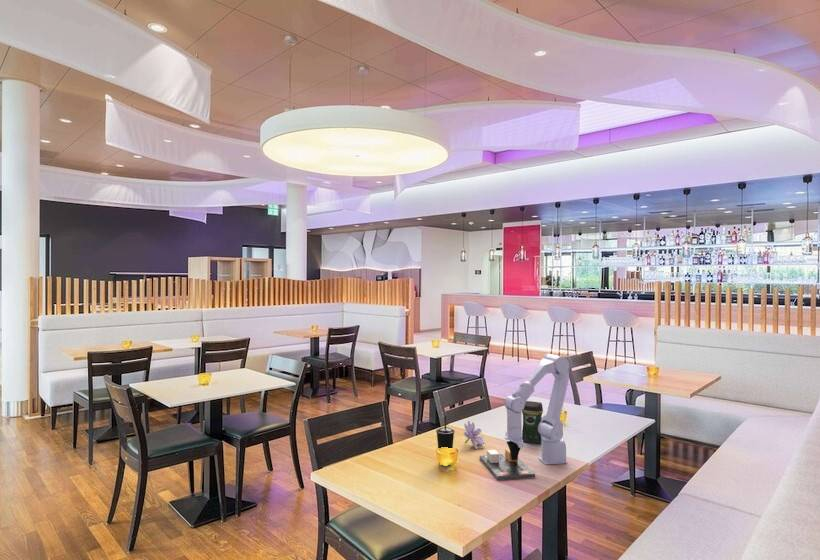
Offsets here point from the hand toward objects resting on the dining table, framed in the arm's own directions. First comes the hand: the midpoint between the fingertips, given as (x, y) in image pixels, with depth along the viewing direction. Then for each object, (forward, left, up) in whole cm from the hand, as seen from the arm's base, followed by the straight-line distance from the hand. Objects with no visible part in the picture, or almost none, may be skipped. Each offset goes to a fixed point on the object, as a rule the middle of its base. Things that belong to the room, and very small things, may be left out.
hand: (514, 459), depth 193 cm
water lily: (+9, -27, -3) cm, 28 cm away
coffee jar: (-20, -28, -3) cm, 35 cm away
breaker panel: (+4, +1, -3) cm, 5 cm away
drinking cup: (+27, -7, -3) cm, 28 cm away
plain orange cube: (0, -3, -1) cm, 4 cm away
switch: (+8, -3, -1) cm, 9 cm away
